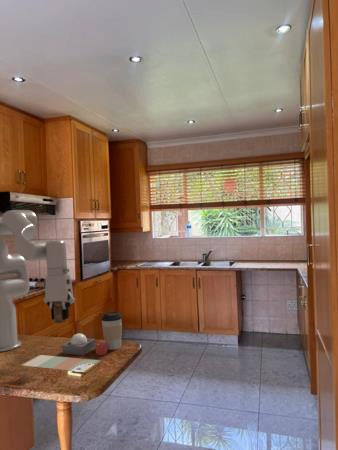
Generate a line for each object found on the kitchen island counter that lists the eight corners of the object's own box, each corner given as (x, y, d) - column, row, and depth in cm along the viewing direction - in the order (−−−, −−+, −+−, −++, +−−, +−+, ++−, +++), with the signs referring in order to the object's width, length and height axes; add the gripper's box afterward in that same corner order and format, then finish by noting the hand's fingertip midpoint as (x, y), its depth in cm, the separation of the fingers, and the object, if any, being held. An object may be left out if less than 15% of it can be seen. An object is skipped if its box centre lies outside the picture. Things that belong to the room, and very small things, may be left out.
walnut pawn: (52, 323, 136) (50, 299, 136) (59, 320, 140) (57, 297, 140) (61, 323, 134) (59, 299, 134) (68, 320, 138) (67, 297, 139)
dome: (67, 352, 149) (66, 335, 149) (77, 346, 156) (76, 330, 156) (81, 353, 147) (80, 336, 147) (90, 347, 153) (89, 331, 153)
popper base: (62, 354, 148) (61, 345, 148) (76, 346, 158) (75, 337, 158) (82, 356, 145) (82, 346, 145) (95, 348, 154) (95, 339, 154)
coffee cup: (114, 342, 161) (112, 309, 161) (127, 345, 155) (126, 311, 155) (98, 348, 154) (96, 313, 154) (112, 352, 148) (110, 316, 148)
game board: (19, 366, 138) (19, 365, 138) (39, 356, 148) (39, 354, 148) (85, 373, 127) (85, 372, 127) (101, 362, 138) (101, 360, 138)
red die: (96, 355, 145) (95, 345, 145) (97, 351, 149) (97, 342, 149) (105, 354, 145) (105, 344, 145) (107, 351, 149) (106, 341, 149)
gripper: (81, 270, 138) (84, 316, 138) (46, 271, 144) (49, 315, 144) (69, 272, 131) (72, 322, 131) (33, 273, 137) (36, 320, 137)
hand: (60, 318), depth 137 cm, fingers closed on walnut pawn, 4 cm apart
